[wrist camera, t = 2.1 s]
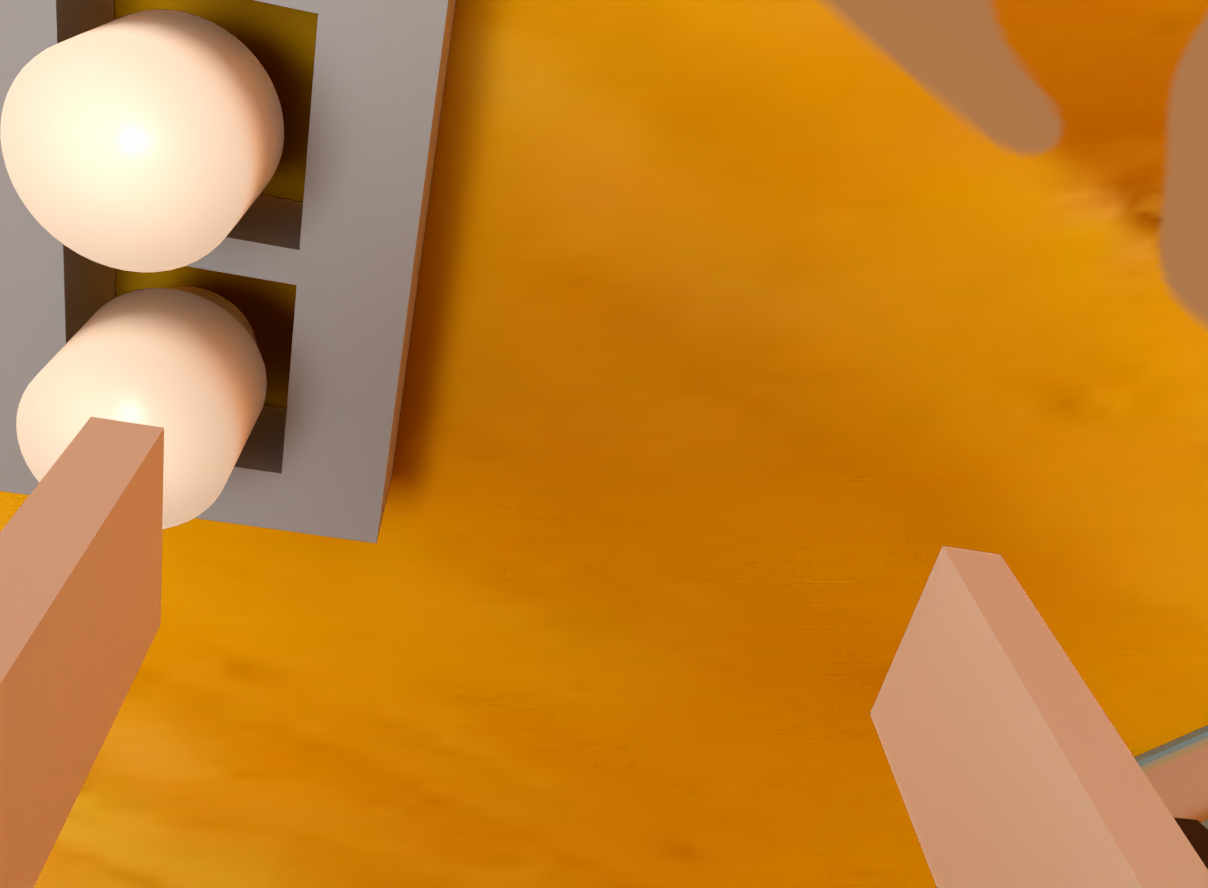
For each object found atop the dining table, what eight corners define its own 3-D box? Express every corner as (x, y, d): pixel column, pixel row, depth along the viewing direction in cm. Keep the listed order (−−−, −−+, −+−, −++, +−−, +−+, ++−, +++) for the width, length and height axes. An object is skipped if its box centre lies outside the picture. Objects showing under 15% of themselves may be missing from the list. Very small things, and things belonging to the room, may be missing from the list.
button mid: (102, 177, 29) (6, 250, 24) (100, -21, 27) (-7, 11, 21) (292, 212, 30) (240, 290, 24) (306, 22, 27) (252, 63, 22)
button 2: (104, 406, 32) (21, 515, 27) (103, 247, 30) (10, 333, 25) (276, 432, 33) (227, 543, 28) (287, 279, 31) (236, 369, 25)
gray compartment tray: (19, 421, 35) (-38, 485, 31) (-30, -524, 24) (-128, -588, 20) (391, 477, 37) (376, 543, 33) (507, -379, 26) (502, -415, 22)
